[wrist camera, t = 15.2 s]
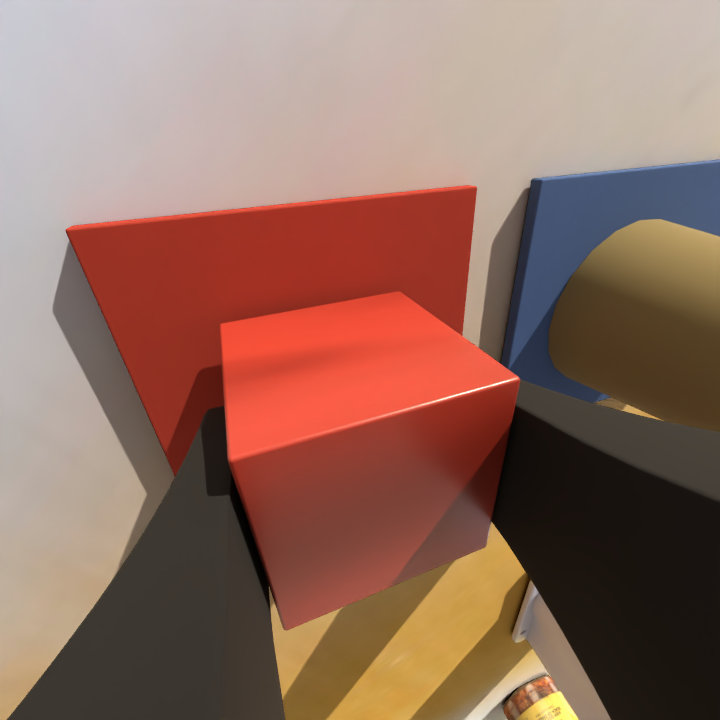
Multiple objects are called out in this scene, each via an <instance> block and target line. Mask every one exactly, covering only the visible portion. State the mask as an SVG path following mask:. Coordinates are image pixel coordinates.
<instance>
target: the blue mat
mask: <svg viewBox="0 0 720 720" xmlns="http://www.w3.org/2000/svg"><path fill="white" fill-rule="evenodd" d="M650 219H662V220H666V221H669V222H672V223H676V224H679V225H683V226H686V227H689V228H693V229H696V230H699V231H703V232H706V233H709V234H713V235H716V236H719V237H720V160H711V161H702V162H692V163H682V164H672V165H662V166H653V167H643V168H633V169H623V170H614V171H604V172H594V173H584V174H574V175H565V176H555V177H545V178H535V179H532V181H531V187H530V193H529V199H528V205H527V211H526V217H525V223H524V229H523V235H522V241H521V246H520V252H519V258H518V264H517V270H516V276H515V282H514V288H513V294H512V300H511V306H510V312H509V318H508V324H507V330H506V336H505V342H504V348H503V354H502V360H501V364H502V365H503V366H504V367H506V368H507V369H509V370H510V371H511V372H513V373H514V374H516V375H517V376H518V377H519V378H520V379H521V380H524V381H527V382H529V383H532V384H535V385H538V386H541V387H544V388H547V389H549V390H552V391H556V392H559V393H562V394H565V395H568V396H571V397H574V398H577V399H581V400H584V401H587V402H591V403H594V402H597V401H600V400H604V399H607V398H610V396H608V395H605V394H603V393H601V392H599V391H596V390H594V389H592V388H590V387H588V386H585V385H583V384H581V383H579V382H576V381H574V380H572V379H570V378H567V377H566V376H564V375H563V374H562V373H561V372H559V371H558V370H557V369H556V368H555V367H554V365H553V362H552V360H551V357H550V354H549V352H548V349H549V327H550V324H551V321H552V317H553V314H554V310H555V307H556V304H557V302H558V300H559V298H560V296H561V294H562V293H563V291H564V289H565V287H566V285H567V283H568V281H569V280H570V278H571V276H572V275H573V273H574V272H575V271H576V270H577V269H578V267H579V266H580V265H581V264H582V262H583V261H584V260H585V259H586V258H587V256H588V255H589V254H590V253H591V251H592V250H593V249H595V248H596V247H597V246H598V245H600V244H601V243H602V242H603V241H604V240H606V239H607V238H608V237H609V236H611V235H612V234H613V233H614V232H616V231H617V230H619V229H622V228H624V227H626V226H628V225H630V224H632V223H635V222H637V221H639V220H650Z"/></svg>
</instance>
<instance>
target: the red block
mask: <svg viewBox="0 0 720 720" xmlns="http://www.w3.org/2000/svg"><path fill="white" fill-rule="evenodd" d="M219 332H220V348H221V363H222V379H223V394H224V410H225V425H226V441H227V457H228V463H229V466H230V469H231V472H232V475H233V478H234V481H235V484H236V487H237V490H238V493H239V496H240V499H241V502H242V505H243V508H244V511H245V514H246V517H247V520H248V524H249V527H250V530H251V533H252V536H253V539H254V542H255V545H256V548H257V551H258V554H259V557H260V560H261V563H262V566H263V569H264V572H265V575H266V578H267V581H268V584H269V587H270V590H271V593H272V596H273V599H274V602H275V605H276V608H277V611H278V614H279V617H280V620H281V623H282V626H283V629H284V630H289V629H292V628H294V627H296V626H299V625H301V624H303V623H306V622H308V621H311V620H313V619H315V618H318V617H320V616H323V615H325V614H327V613H330V612H332V611H334V610H337V609H339V608H342V607H344V606H346V605H349V604H351V603H354V602H356V601H358V600H361V599H363V598H365V597H368V596H370V595H373V594H375V593H377V592H380V591H382V590H385V589H387V588H389V587H392V586H394V585H396V584H399V583H401V582H404V581H406V580H408V579H411V578H413V577H416V576H418V575H420V574H423V573H425V572H427V571H430V570H432V569H435V568H437V567H439V566H442V565H444V564H447V563H449V562H451V561H454V560H456V559H458V558H461V557H463V556H466V555H468V554H470V553H473V552H475V551H478V550H480V549H482V548H484V547H486V544H487V540H488V535H489V530H490V525H491V520H492V515H493V510H494V506H495V501H496V496H497V491H498V486H499V481H500V477H501V472H502V467H503V462H504V457H505V452H506V447H507V443H508V438H509V433H510V428H511V423H512V418H513V413H514V409H515V404H516V399H517V394H518V389H519V384H520V378H519V377H518V376H517V375H516V374H514V373H513V372H511V371H510V370H509V369H507V368H506V367H504V366H503V365H502V364H500V363H499V362H497V361H496V360H495V359H493V358H492V357H491V356H489V355H488V354H486V353H485V352H484V351H482V350H481V349H479V348H478V347H477V346H475V345H474V344H472V343H471V342H470V341H468V340H467V339H465V338H464V337H463V336H461V335H460V334H458V333H457V332H456V331H454V330H453V329H452V328H450V327H449V326H447V325H446V324H445V323H443V322H442V321H440V320H439V319H438V318H436V317H435V316H433V315H432V314H431V313H429V312H428V311H426V310H425V309H424V308H422V307H421V306H420V305H418V304H417V303H415V302H414V301H413V300H411V299H410V298H408V297H407V296H406V295H404V294H403V293H401V292H399V291H397V292H392V293H386V294H381V295H375V296H370V297H364V298H359V299H354V300H348V301H343V302H337V303H332V304H326V305H321V306H315V307H310V308H304V309H299V310H293V311H288V312H282V313H277V314H271V315H266V316H260V317H255V318H249V319H244V320H238V321H233V322H227V323H222V324H220V325H219Z"/></svg>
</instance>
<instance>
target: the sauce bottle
mask: <svg viewBox="0 0 720 720" xmlns="http://www.w3.org/2000/svg"><path fill="white" fill-rule="evenodd" d="M503 711H504V714H505V715H506V717H507V719H508V720H579V719H578V717H577V716H576V714H575V713H574V711H573V710H572V708H571V707H570V705H569V704H568V702H567V700H566V699H565V697H564V696H563V694H562V693H561V691H560V690H559V688H558V687H557V685H556V684H555V682H554V681H553V679H552V678H551V677H550V676H549V675H544V676H543V677H539V678H536V679H534V680H532V681H530V682H529V683H527V684H525V685H522V686H520V687H519V688H518V689H517V690H516V691H515V692H514V693H513V694H512V695H511V697H510V698H509V699H507V700H506V702H505V704H504V707H503Z"/></svg>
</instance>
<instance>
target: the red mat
mask: <svg viewBox="0 0 720 720" xmlns="http://www.w3.org/2000/svg"><path fill="white" fill-rule="evenodd" d="M476 192H477V187H476V186H469V185H467V186H457V187H447V188H437V189H428V190H418V191H408V192H398V193H389V194H379V195H369V196H359V197H349V198H340V199H330V200H320V201H310V202H301V203H291V204H281V205H271V206H261V207H252V208H242V209H232V210H222V211H212V212H203V213H193V214H183V215H173V216H164V217H154V218H144V219H134V220H124V221H115V222H105V223H95V224H85V225H76V226H71V227H69V228H67V229H66V233H67V235H68V238H69V240H70V242H71V244H72V247H73V249H74V251H75V253H76V256H77V258H78V260H79V262H80V265H81V267H82V269H83V271H84V273H85V276H86V278H87V280H88V282H89V285H90V287H91V289H92V291H93V294H94V296H95V298H96V300H97V303H98V305H99V307H100V309H101V312H102V314H103V316H104V318H105V321H106V323H107V325H108V327H109V329H110V332H111V334H112V336H113V338H114V341H115V343H116V345H117V347H118V350H119V352H120V354H121V356H122V359H123V361H124V363H125V365H126V368H127V370H128V372H129V374H130V377H131V379H132V381H133V383H134V386H135V388H136V390H137V392H138V394H139V397H140V399H141V401H142V403H143V406H144V408H145V410H146V412H147V415H148V417H149V419H150V421H151V424H152V426H153V428H154V430H155V433H156V435H157V437H158V439H159V442H160V444H161V446H162V448H163V451H164V453H165V455H166V457H167V459H168V462H169V464H170V466H171V468H172V471H173V473H174V475H175V476H176V474H177V472H178V470H179V468H180V467H181V465H182V463H183V461H184V459H185V457H186V455H187V453H188V451H189V448H190V446H191V444H192V442H193V440H194V438H195V435H196V433H197V431H198V428H199V426H200V424H201V421H202V419H203V416H204V414H205V413H206V412H207V410H208V409H211V408H215V407H220V406H224V394H223V379H222V363H221V348H220V332H219V325H220V324H222V323H227V322H233V321H238V320H244V319H249V318H255V317H260V316H266V315H271V314H277V313H282V312H288V311H293V310H299V309H304V308H310V307H315V306H321V305H326V304H332V303H337V302H343V301H348V300H354V299H359V298H364V297H370V296H375V295H381V294H386V293H392V292H397V291H399V292H401V293H403V294H404V295H406V296H407V297H408V298H410V299H411V300H413V301H414V302H415V303H417V304H418V305H420V306H421V307H422V308H424V309H425V310H426V311H428V312H429V313H431V314H432V315H433V316H435V317H436V318H438V319H439V320H440V321H442V322H443V323H445V324H446V325H447V326H449V327H450V328H452V329H453V330H454V331H456V332H457V333H458V334H460V335H461V336H462V332H463V322H464V312H465V302H466V292H467V282H468V272H469V262H470V252H471V242H472V232H473V222H474V212H475V202H476Z"/></svg>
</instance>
